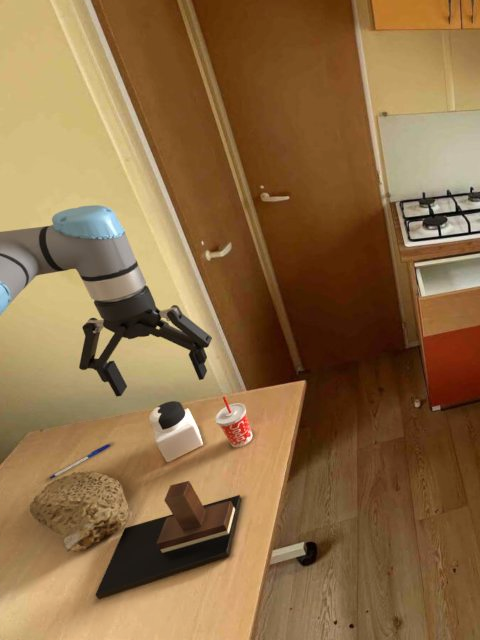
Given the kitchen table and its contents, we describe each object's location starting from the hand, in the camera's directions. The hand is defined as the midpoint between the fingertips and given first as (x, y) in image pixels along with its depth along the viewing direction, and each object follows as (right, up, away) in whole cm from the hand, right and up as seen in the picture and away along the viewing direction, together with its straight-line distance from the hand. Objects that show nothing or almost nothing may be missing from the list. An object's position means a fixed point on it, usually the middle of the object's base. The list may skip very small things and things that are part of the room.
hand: (163, 383), depth 84 cm
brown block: (+9, -28, -2) cm, 30 cm away
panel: (+5, -30, -3) cm, 31 cm away
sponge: (-17, -28, +2) cm, 33 cm away
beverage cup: (+4, -20, +19) cm, 27 cm away
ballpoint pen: (-30, -23, +14) cm, 40 cm away
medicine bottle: (-10, -20, +17) cm, 28 cm away
